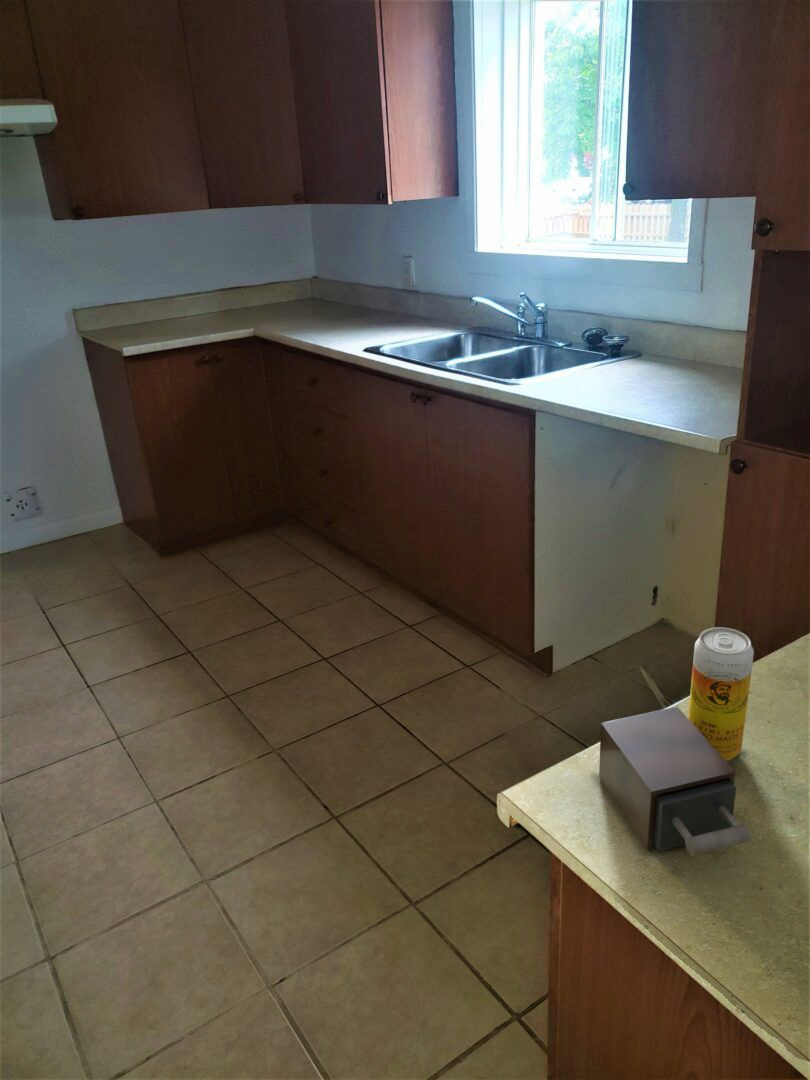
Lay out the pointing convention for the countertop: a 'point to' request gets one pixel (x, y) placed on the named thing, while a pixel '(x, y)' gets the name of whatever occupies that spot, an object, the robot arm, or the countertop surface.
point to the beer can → (721, 688)
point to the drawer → (698, 818)
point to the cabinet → (655, 763)
